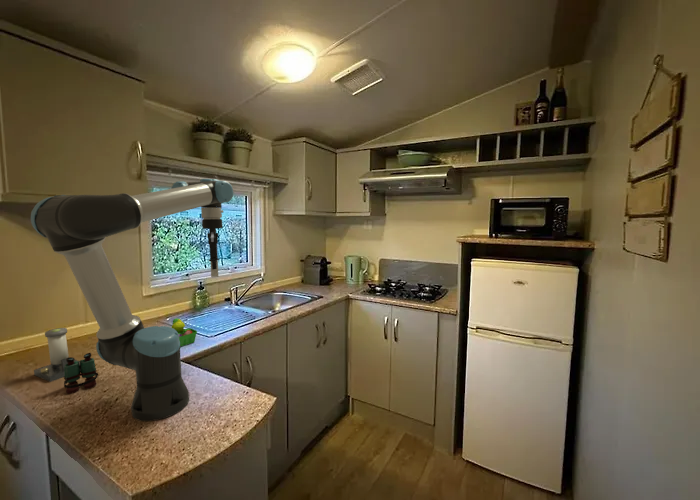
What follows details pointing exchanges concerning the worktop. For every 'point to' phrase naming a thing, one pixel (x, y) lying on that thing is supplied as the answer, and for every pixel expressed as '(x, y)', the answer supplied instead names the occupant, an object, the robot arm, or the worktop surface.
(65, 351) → the grey lidded cylinder
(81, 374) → the binoculars
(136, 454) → the worktop surface
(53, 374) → the tribrach base
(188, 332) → the fruit basket
